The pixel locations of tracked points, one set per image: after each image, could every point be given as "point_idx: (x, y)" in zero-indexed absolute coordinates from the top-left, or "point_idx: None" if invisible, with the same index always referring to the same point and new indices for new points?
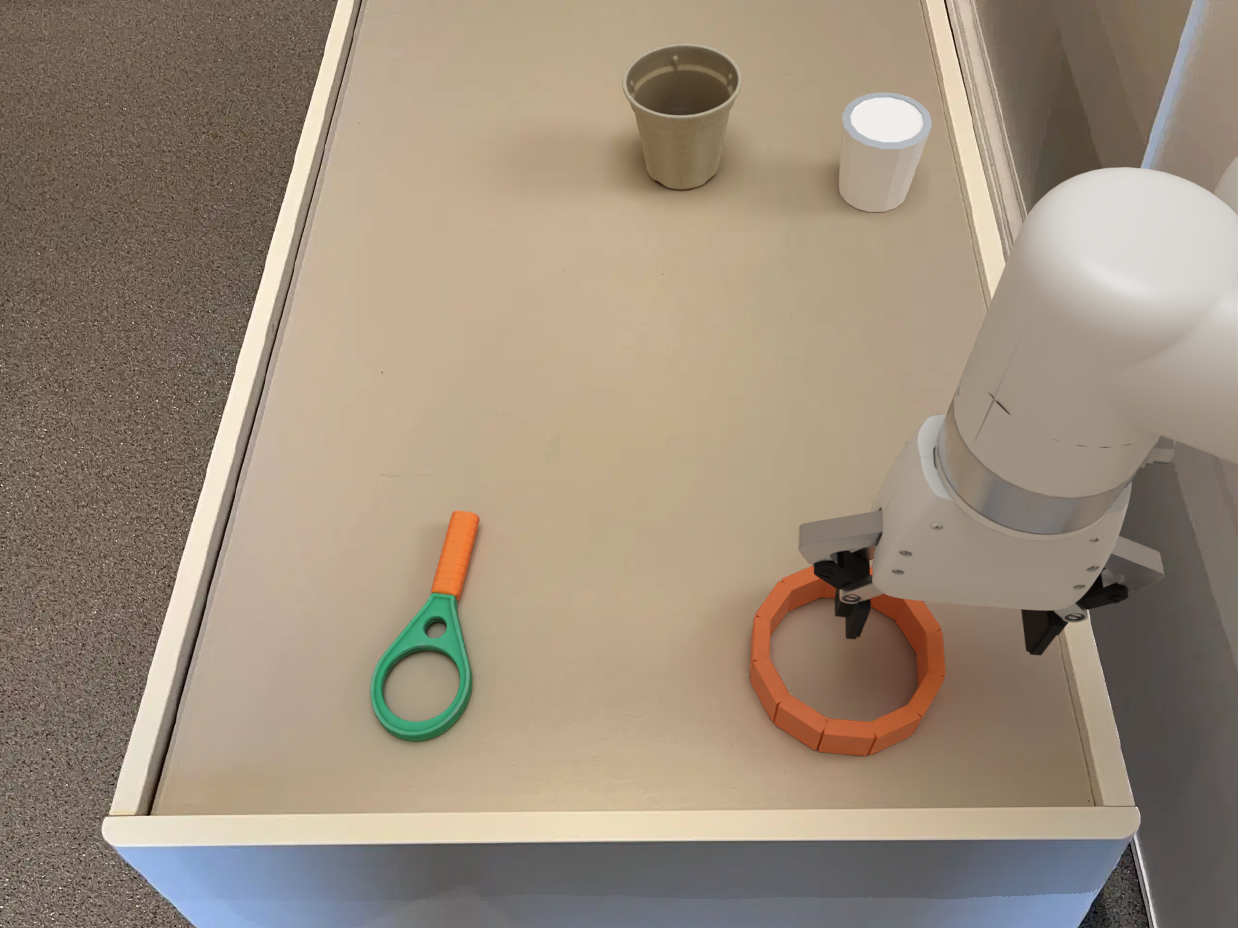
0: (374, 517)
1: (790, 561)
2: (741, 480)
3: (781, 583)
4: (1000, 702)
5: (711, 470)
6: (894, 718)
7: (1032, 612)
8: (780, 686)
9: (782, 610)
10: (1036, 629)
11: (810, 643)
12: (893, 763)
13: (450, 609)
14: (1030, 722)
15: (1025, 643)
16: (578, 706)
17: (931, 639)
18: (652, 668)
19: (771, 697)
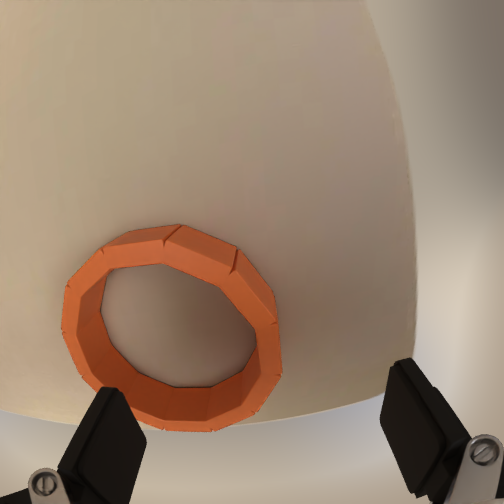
0: None
1: (95, 208)
2: (38, 118)
3: (68, 289)
4: (345, 332)
5: (15, 119)
6: (228, 417)
7: (402, 423)
8: None
9: (89, 302)
10: (398, 450)
11: (139, 306)
12: None
13: None
14: (370, 343)
15: (381, 413)
16: (19, 366)
17: (263, 338)
18: (37, 340)
19: None
